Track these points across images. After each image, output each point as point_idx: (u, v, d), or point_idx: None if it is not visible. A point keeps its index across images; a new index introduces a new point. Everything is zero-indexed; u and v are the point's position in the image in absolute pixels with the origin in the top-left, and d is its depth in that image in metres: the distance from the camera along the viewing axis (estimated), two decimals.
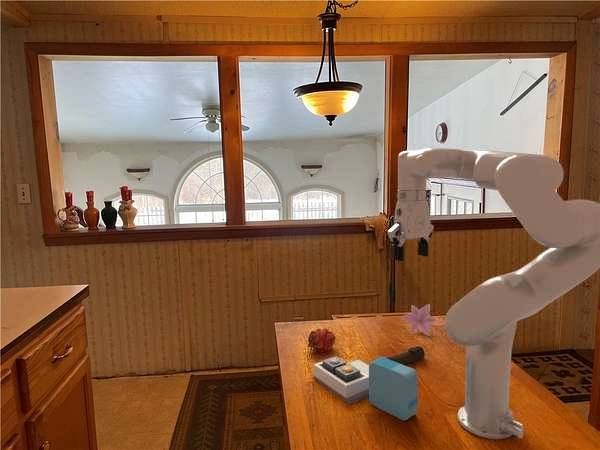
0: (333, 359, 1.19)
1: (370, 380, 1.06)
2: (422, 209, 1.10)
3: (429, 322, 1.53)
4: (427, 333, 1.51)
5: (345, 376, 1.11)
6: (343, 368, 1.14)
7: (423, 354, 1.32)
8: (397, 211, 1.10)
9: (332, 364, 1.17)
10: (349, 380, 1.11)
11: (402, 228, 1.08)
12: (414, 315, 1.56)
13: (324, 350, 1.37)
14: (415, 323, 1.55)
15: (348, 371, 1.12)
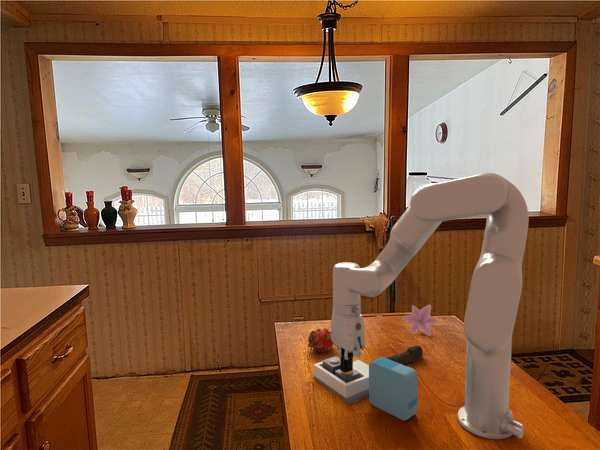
0: (333, 359, 1.19)
1: (370, 380, 1.06)
2: None
3: (430, 322, 1.53)
4: (428, 334, 1.50)
5: (345, 378, 1.11)
6: None
7: (422, 353, 1.32)
8: None
9: (332, 364, 1.17)
10: None
11: (362, 341, 1.09)
12: (414, 315, 1.55)
13: (324, 350, 1.37)
14: (416, 324, 1.54)
15: (348, 373, 1.12)
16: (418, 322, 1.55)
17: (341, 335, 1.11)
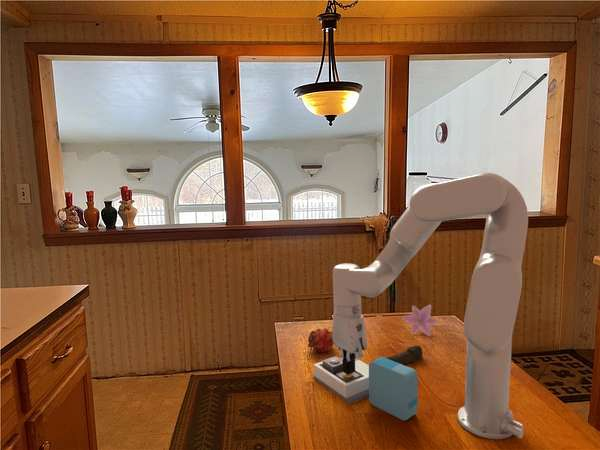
0: (333, 359, 1.19)
1: (370, 380, 1.06)
2: None
3: (430, 323, 1.52)
4: (428, 334, 1.50)
5: (345, 381, 1.11)
6: (343, 373, 1.14)
7: (421, 353, 1.33)
8: None
9: (332, 364, 1.17)
10: None
11: (364, 341, 1.09)
12: (415, 315, 1.55)
13: (324, 350, 1.37)
14: (416, 324, 1.54)
15: (348, 376, 1.13)
16: (418, 322, 1.55)
17: (343, 337, 1.10)
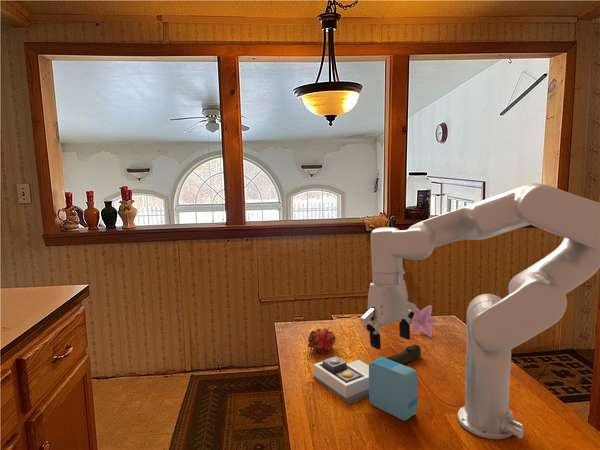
0: (333, 359, 1.19)
1: (370, 380, 1.06)
2: None
3: (431, 323, 1.52)
4: (429, 334, 1.50)
5: (345, 381, 1.11)
6: (343, 373, 1.14)
7: (420, 352, 1.33)
8: None
9: (332, 364, 1.17)
10: None
11: None
12: (415, 316, 1.55)
13: (324, 350, 1.37)
14: (417, 324, 1.54)
15: (348, 376, 1.13)
16: (419, 323, 1.54)
17: (397, 306, 1.00)
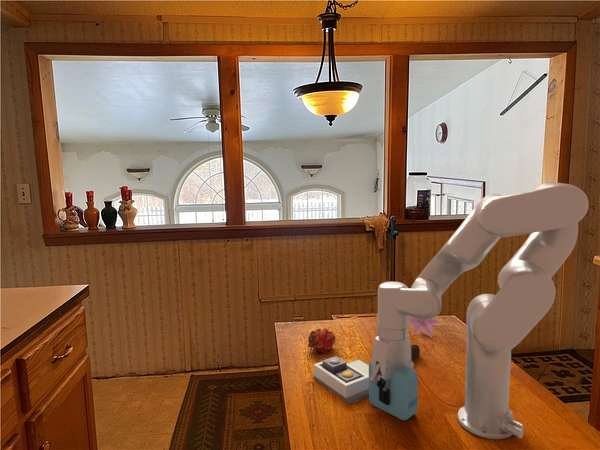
0: (333, 359, 1.19)
1: None
2: None
3: (431, 323, 1.52)
4: (430, 335, 1.49)
5: (345, 381, 1.11)
6: (343, 373, 1.14)
7: (419, 352, 1.33)
8: None
9: (332, 364, 1.17)
10: None
11: None
12: None
13: (324, 350, 1.37)
14: (418, 325, 1.53)
15: (348, 376, 1.13)
16: (419, 323, 1.54)
17: (401, 361, 1.01)
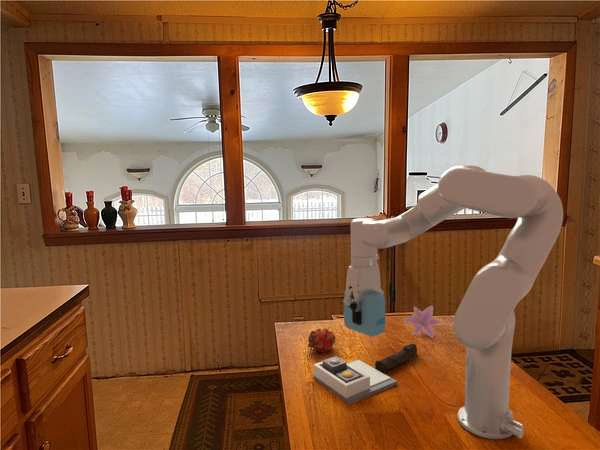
0: (333, 359, 1.19)
1: (345, 306, 1.21)
2: None
3: (432, 324, 1.51)
4: (431, 335, 1.49)
5: (345, 381, 1.11)
6: (343, 373, 1.14)
7: (416, 351, 1.34)
8: None
9: (332, 364, 1.17)
10: None
11: None
12: (416, 317, 1.54)
13: (324, 350, 1.37)
14: (419, 325, 1.53)
15: (348, 376, 1.13)
16: (420, 323, 1.53)
17: (371, 286, 1.16)
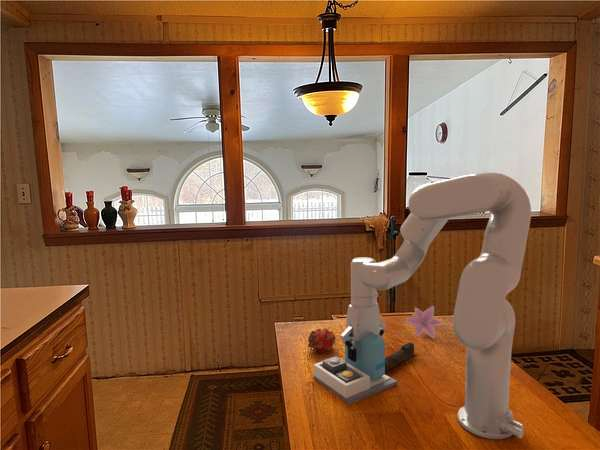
0: (333, 359, 1.19)
1: (346, 347, 1.23)
2: None
3: (434, 324, 1.51)
4: (432, 336, 1.48)
5: (345, 381, 1.11)
6: (343, 373, 1.14)
7: (413, 350, 1.35)
8: None
9: (332, 364, 1.17)
10: None
11: None
12: (417, 317, 1.53)
13: (324, 350, 1.37)
14: (420, 326, 1.52)
15: (348, 376, 1.13)
16: (421, 324, 1.53)
17: (371, 325, 1.18)
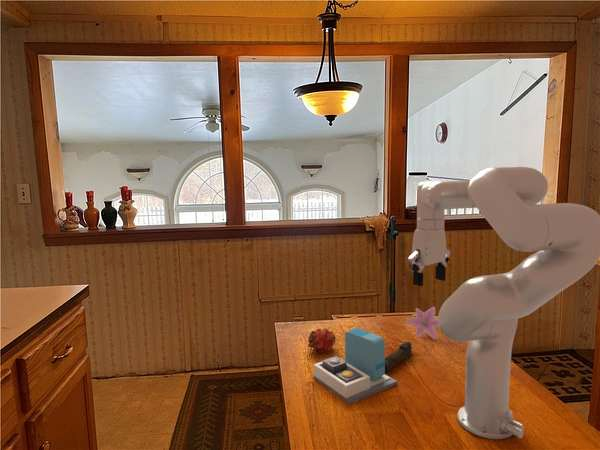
0: (333, 359, 1.19)
1: (346, 347, 1.23)
2: None
3: (435, 325, 1.50)
4: (434, 336, 1.48)
5: (345, 381, 1.11)
6: (343, 373, 1.14)
7: (411, 349, 1.36)
8: None
9: (332, 364, 1.17)
10: None
11: None
12: (419, 318, 1.52)
13: (324, 350, 1.37)
14: (421, 326, 1.51)
15: (348, 376, 1.13)
16: (422, 325, 1.52)
17: (438, 250, 1.16)
